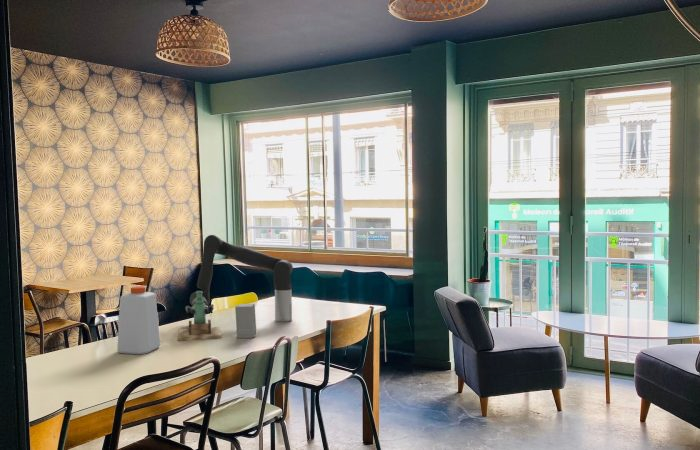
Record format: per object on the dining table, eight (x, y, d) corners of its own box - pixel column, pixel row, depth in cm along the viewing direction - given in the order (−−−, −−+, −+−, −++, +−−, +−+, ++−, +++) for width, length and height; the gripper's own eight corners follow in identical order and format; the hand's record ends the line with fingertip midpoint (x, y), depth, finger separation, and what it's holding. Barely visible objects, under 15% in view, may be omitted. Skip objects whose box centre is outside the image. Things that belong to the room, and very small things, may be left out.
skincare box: (256, 335, 267) (256, 303, 267) (252, 338, 260) (252, 306, 260) (239, 334, 268) (239, 303, 268) (235, 338, 261) (234, 305, 260)
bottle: (206, 328, 271) (206, 290, 270) (204, 330, 266) (204, 292, 265) (195, 328, 271) (194, 290, 270) (193, 331, 265) (192, 292, 264)
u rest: (220, 329, 279) (220, 317, 279) (221, 338, 262) (221, 324, 262) (179, 332, 274) (179, 319, 274) (178, 340, 257) (177, 327, 256)
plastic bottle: (144, 355, 232) (143, 290, 231) (113, 353, 235) (111, 289, 234) (163, 346, 247) (162, 285, 246) (133, 344, 250) (132, 284, 249)
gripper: (185, 298, 279) (184, 304, 263) (213, 297, 283) (214, 303, 267) (185, 313, 280) (184, 320, 263) (214, 311, 283) (214, 318, 267)
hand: (199, 311), depth 265 cm, fingers closed on bottle, 5 cm apart
